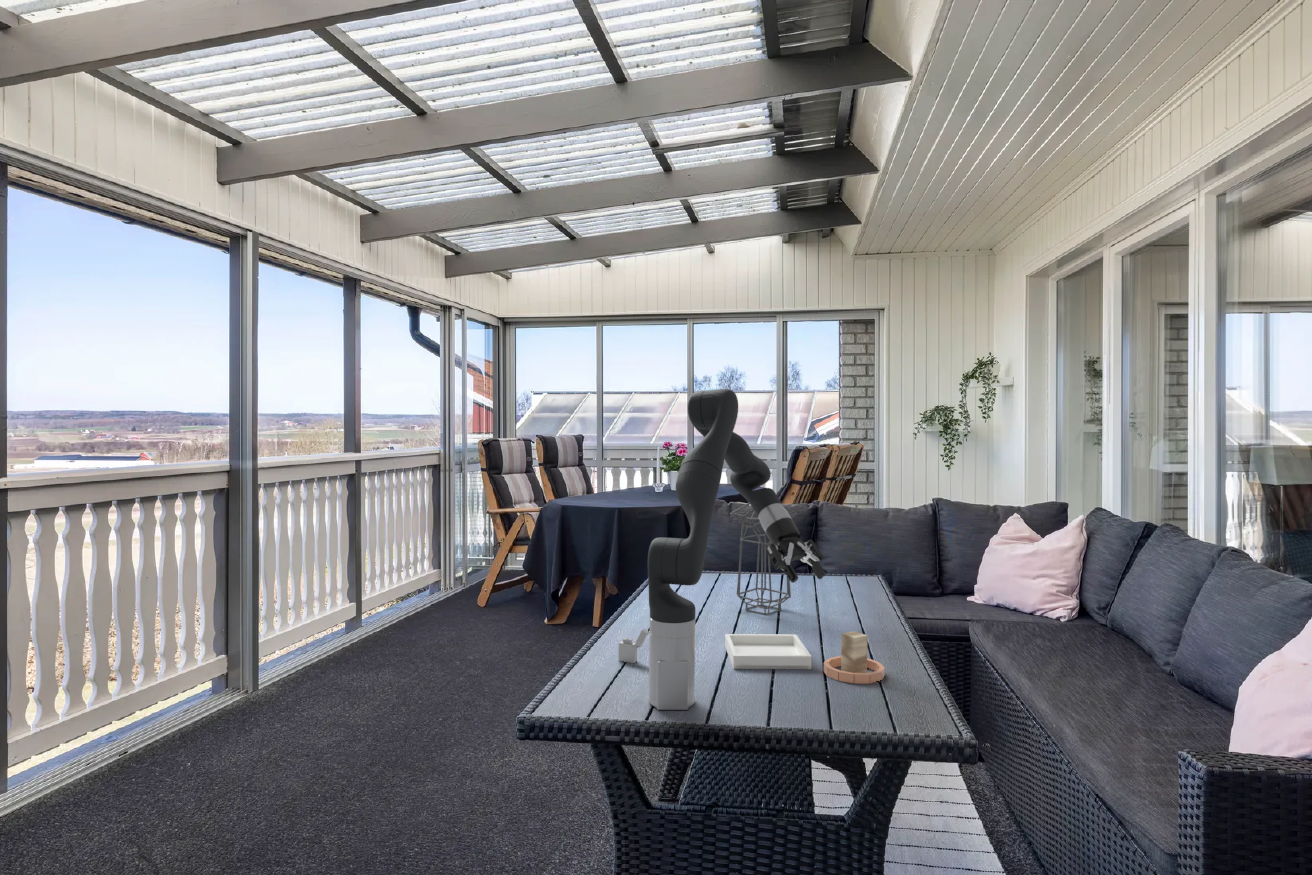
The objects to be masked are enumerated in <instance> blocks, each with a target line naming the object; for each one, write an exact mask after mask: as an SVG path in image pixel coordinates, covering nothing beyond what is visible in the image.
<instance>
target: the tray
mask: <svg viewBox="0 0 1312 875" xmlns="http://www.w3.org/2000/svg"><path fill="white" fill-rule="evenodd" d="M724 647H725V650H726V652H727V656H728V659H729V661H730V663H731V666H732V669H733V670H812V664H813V663H812V660H813V659H812V655H811V653H810V652H809V650H808V649H807V648H806V646H805V644H803V642H802V640H800V637H798V635H797V634H787V633H786V634H781V633H780V634H779V633H777V634H775V633H774V634H772V633H771V634H769V633H767V634H765V633H763V634H762V633H761V634H760V633H759V634H758V633H755V634H754V633H753V634H751V633H749V634H747V633H745V634H744V633H743V634H742V633H741V634H740V633H729V634H728V633H725V636H724Z"/></svg>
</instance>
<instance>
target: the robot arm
mask: <svg viewBox="0 0 1312 875" xmlns="http://www.w3.org/2000/svg"><path fill="white" fill-rule="evenodd" d="M737 396H738V395H736V393H735V391H733V390H732V389H729V388H717V389H708V390H707V389H706V390H699V391H696V392H693V393H692V394H690V396H689V398H688V402H687V414H688V417H689V420H690V423H691V424H692V426H693V427H694V428H695V429H696V431H697V432H698V433H699V434H701V435H702V436H703V438H702V439H701V440H700V441H699V442H698V443H697V444H696V445H695V446H693V448H692V449H691V450H690V451H689V452H688V453H687V454H686V456H685V457H684V458H683V460H682V461H681V464H680V467H679V469H678V475H677V477H676V482H675V493H676V497H677V499H678V501H679V503H680V505H681V508H682V509H683V512H684V513H685V516H686V518H687V520H688V521H687V522H688V523H689V527H690V530H689V536H688V537H687V538H679V537H678V538H677V537H656V538H654V539H653V540H651V543H650V545H649V548H648V552H647V579H648V581H647V582H648V583H647V584H648V608H649V646H648V647H649V648H648V650H649V653H648V655H649V656H648V659H649V660H648V661H649V662H648V665H649V667H648V702H649V704H650V705H651V706H652V707H655V708H656V710H661V711H662V710H663V711H664V710H665V711H667V710H668V711H669V710H671V711H673V710H674V711H677V710H679V711H681V710H683V711H687V710H689V708H690V707H692V706H693V705H694V704H695V685H696V684H695V681H696V680H695V673H696V670H695V669H696V668H695V666H696V665H695V663H696V605H695V603H694V602H692V601H691V600H690V599H688V598H685V597H683V596H682V595H679V594H678V593H677V592H676V591H675V590H673V589H672V586H671V585H676V586H677V585H678V586H695V585H697V584H698V583H699V581H700V579H701V577H702V574H703V571H704V568H705V567H704V566H705V559H706V552H707V546H708V539H709V532H710V526H711V521H712V516H713V511H714V507H715V504H716V500H717V496H718V492H719V488H720V485H721V484H720V483H721V480H722V474H723V469H724V463H726V464H727V466H728V467H729V469H730V471H731V474H730V476H729V478H730V483H731V486H732V487H733V488H734V489H735V490H736V492H738V494H740V495H741V496H742V497H743V498H744V499H745V500H746V501H747V503H748V502H749V503H750V505H749V506H752V508H753V509H754V511H755V513H756V514H755V516H756V517H757V518H759V521H760V523H759V524H760V525H761V528H762V529H763V530H764V532H765V533H766V535H767V536H766V537H767V539H768V540H769V541H770V543H771V544H769V547H768V546H767V547H766V554H767V556H768V555H769V557H770V563H771V564H772V566H773V568H774V569H775V570H778V569H780V570H782V571H783V572H784V574H785V575H786V578H787V577H788V579H789V580H790V582H791V583H793V584H794V583H797V581H798V579H799V576H798V574H797V572H796V571H795V569H794V567H793V565H792V564H791V562H793V561H801V562H802V563H805V564H808V565H809V566H811V569H812V571H813V573H814V575H815V576H816V578H817V579H818V580H822V579H823V578H824V577H825V576H826V572H825V570H824V568H823V567H822V564H821V562H822V560H823V559H824V555H823V554H822V552H821V551H820V550H819V548H818V546H817V545H816V543H815V542H814V540H812V539H809V540H807V541H805V542H804V541H803V540H802V538H801V534H800V531H799V528H798V527H797V525H796V523H795V522H794V521H793V519H792V518H791V517H790V515H791V514H789V513H788V512H789V511H788V510H787V509H785V508H784V507H783V505H784V504H783V505H782V502H781V500H780V498H779V497H778V495H777V493H776V492H775V491H774V489H772V488H770V487H765V488H764V487H763V488H760V487H761V486H763V485H765V484H766V483H768V482H769V481H770V479H771V476H772V475H771V474H772V473H771V469H770V468H769V466H768V465H767V463H766V462H765V461H764V460H762V459H761V458H760V457H758V456H757V455H755V454H754V452H752V450H751V448H750V446H749V444H748V443H747V442H746V440H745V439H744V438H743V437H742V436H741V435H740V434H737V433H736V432H734V429H735V426H736V423H737V420H738V415H739V399H738V397H737ZM758 488H760V489H758ZM754 511H753V512H754ZM765 533H764V534H765ZM805 554H806V555H805Z"/></svg>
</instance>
